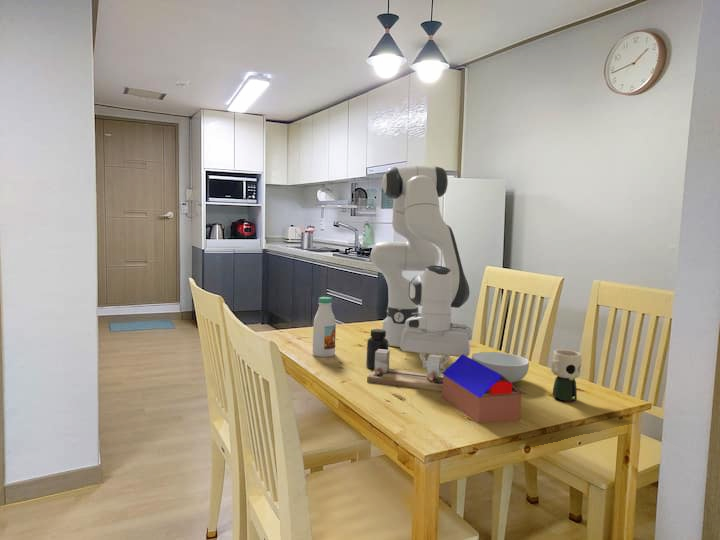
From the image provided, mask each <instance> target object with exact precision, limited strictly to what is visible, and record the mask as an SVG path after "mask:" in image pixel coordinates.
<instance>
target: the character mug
mask: <svg viewBox="0 0 720 540" xmlns="http://www.w3.org/2000/svg"><path fill="white" fill-rule="evenodd" d="M552 356H553V359H552V361H551V369H550V371H551V372H552V374H553V375H554V376H556V377H555V380H554V384H553V389H552V392H551V393H552V394H551V395H552V396H553V397H554V398H557V399H558V400H560V401H565V402H568V401H569V402H572V401H573V398H574V401H576V400H577V399H578V396H577V395H578V394H577V381H576V379H578V378H579V377H580V376H581V372H582V371H581V368H582V361H583V360H582V353H580V352H578V351H574V350H570V349H568V350H567V349H555V350H553V355H552Z"/></svg>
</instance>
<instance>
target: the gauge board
mask: <svg viewBox="0 0 720 540" xmlns="http://www.w3.org/2000/svg"><path fill="white" fill-rule="evenodd" d="M390 351H391V350H390V349H388V350H384V349H378V350H377V351H376V352H375V369H373V371H371V373H369V375H368V376H367V377H366V378H367V379H366V382H367V383H373V382H375V383H374V384H381V383H382V384H381V385H388V384H390V385H389V386H396V385H398V387H405V388H412V387H413V388H414V389H421V390H428V391H437V392H443V374H441V376H440V378H439V379H434V381H429V378H427V372H421V371H413V370H407V369H406V370H405V369H397V368H396V369H395V368H390V355H391V352H390ZM413 388H412V389H413Z"/></svg>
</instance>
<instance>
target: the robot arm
mask: <svg viewBox="0 0 720 540" xmlns="http://www.w3.org/2000/svg"><path fill="white" fill-rule="evenodd" d="M447 175H448V174H447V172H446V170H445V169H444V168H443V167H439V166H427V165H415V166H414V165H413V166H411V165H409V166H402V167H397V166H393V167H389V168H387V169H386V170H385V172H384V173H383V177H382V182H381V185H382V186H381V187H382V190H383V192H384V195H385V196H386V197H387V198H389V199H393V205H392V206H393V207H392V219H391V220H392V222H391V223H392V225H391V226H392V228H393V231H395V233H396V234H398V235H399V236H401V237H403V238H405V239H406V240H407V241H391V240H388V241H381V242H376V243H375V244H374V245H373V247H372V249H371V252H370V260H371V263H372V265H373V266H374V267H375V268H376V269H377V270H378V271H379V272H380V273H381V274H382V275H383V278H384V279H385V280H386V284H387V289H388V290H387V292H388V303H387V307H386V318H384V319H383V320H382V325H381V329H382V330H385V331H386V337H385V338H386V339H387V340H388V346H391V347H397V348H400V349H401V351H403V352H412V353H419V358H420V360H421V361H422V368H424V369H427V359H426V357H425V356H426V354H429V355H439V356H443V359H444V360H443V362H441V363H440V370H441V371H445V370H446V364H447V363H448V361H449V360H450V358H451V357H457V358H459V357H460V356H461V355H462V354H463V355H465V356H467V357H469V356H470V354H471V342H470V341H471V340H472V337H473V331H472V329H471V327H470V326H468V325H467V324H461V323H460V324H459V323H452V320H453V310H452V308H455V309H456V308H461V307H462V306H463V305H465V304H466V302H467V301H468V300H469V298H470V286H469V283H468V279H467V277H466V274H465V273H464V267H463V265H462V264H463V263H462V261H461V258H460V254H459V250H458V244H457V242H456V238H455V234H454V232H453V230H452V227H451V226H450V225H448V224H447V223H446V222H445V220H444V219H443V216H442V215H441V209H440V200H439V198H441V197H443V196H444V195H445V194H446V192H447V188H448V185H449V178H448V176H447ZM438 249H439V250H440V251H441V254H442V257H443V261H444V264H445V266H442V265H438V264H439V262H440V253H439V250H438ZM405 271H406V272H423V273H422V274H418V275H415V276H414V277H412V278H411V280H409V279H407V278H406V277H404V276H403V272H405ZM418 306H419V307H421V313H420V312H419V307H418ZM419 313H420V314H419Z"/></svg>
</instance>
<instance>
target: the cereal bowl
mask: <svg viewBox="0 0 720 540" xmlns="http://www.w3.org/2000/svg"><path fill="white" fill-rule="evenodd" d="M470 358H471V359H472V360H474V361H476V362H478V363H480V364H482V365H484V366H486V367H487V368H489V369H491V370H493V371H495V372H497V373H499V374H501V375H502V376H504V377H505V378H506V379H507V380H508V381H509V382H510V383H511V384H513V383H514V382H518V381H521V380H522V379H524V378H525V376H527V374H528V372H529V369H530V368H529V367H530V361H529V359H527V358H525V357H523V356H521V355H517V354H512V353H508V352H506V353H505V352H500V351H498V352H497V351H484V352H475V353H473V354H472V355H471V357H470Z"/></svg>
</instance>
